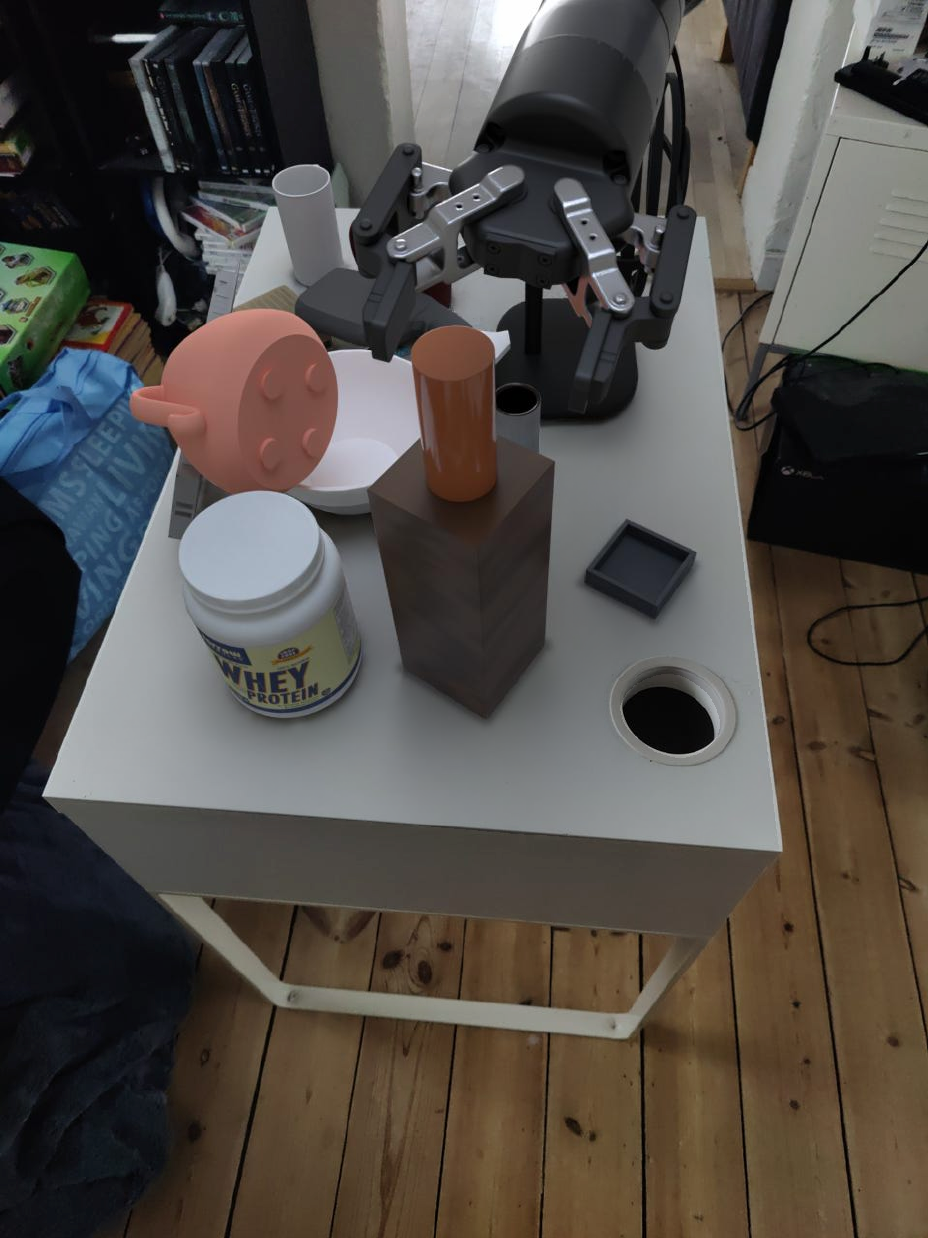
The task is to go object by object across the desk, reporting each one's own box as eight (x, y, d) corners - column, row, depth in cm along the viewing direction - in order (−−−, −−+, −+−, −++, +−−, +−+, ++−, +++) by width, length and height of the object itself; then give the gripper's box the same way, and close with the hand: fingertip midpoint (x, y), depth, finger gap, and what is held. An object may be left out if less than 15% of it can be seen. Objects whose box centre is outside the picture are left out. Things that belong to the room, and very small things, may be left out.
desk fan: (662, 450, 89) (734, 86, 60) (492, 450, 90) (482, 94, 61) (642, 289, 104) (693, -64, 75) (497, 291, 105) (491, -56, 76)
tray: (693, 565, 80) (697, 551, 79) (654, 619, 77) (657, 606, 76) (624, 531, 83) (626, 518, 81) (584, 582, 80) (585, 569, 78)
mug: (338, 291, 107) (320, 197, 97) (287, 287, 108) (264, 194, 98) (358, 244, 112) (343, 151, 102) (309, 240, 113) (290, 148, 103)
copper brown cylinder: (511, 467, 57) (511, 343, 49) (469, 513, 55) (462, 391, 47) (453, 439, 59) (443, 315, 50) (410, 482, 57) (393, 360, 48)
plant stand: (544, 644, 76) (555, 460, 57) (486, 719, 72) (477, 548, 53) (463, 598, 79) (447, 410, 60) (403, 668, 76) (366, 489, 57)
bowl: (421, 393, 95) (414, 331, 88) (473, 520, 84) (469, 460, 78) (248, 435, 93) (227, 374, 86) (279, 570, 82) (258, 513, 75)
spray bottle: (344, 283, 102) (526, 341, 94) (287, 327, 96) (477, 393, 88) (341, 259, 100) (528, 316, 92) (282, 303, 94) (477, 368, 86)
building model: (220, 383, 98) (202, 379, 97) (241, 252, 84) (220, 246, 83) (187, 559, 84) (165, 555, 83) (206, 437, 70) (180, 431, 70)
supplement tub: (215, 723, 73) (145, 611, 59) (241, 606, 80) (184, 480, 66) (357, 725, 72) (320, 611, 58) (371, 606, 79) (341, 479, 65)
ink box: (292, 308, 105) (232, 338, 103) (284, 280, 102) (222, 310, 99) (336, 348, 100) (274, 380, 98) (330, 321, 97) (266, 353, 95)
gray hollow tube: (487, 466, 89) (485, 389, 80) (528, 455, 89) (530, 377, 81) (502, 497, 86) (501, 420, 78) (544, 485, 87) (548, 408, 78)
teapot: (371, 478, 83) (271, 448, 88) (385, 310, 77) (276, 288, 81) (206, 534, 65) (93, 493, 70) (205, 321, 59) (80, 291, 64)
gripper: (432, -2, 38) (298, 263, 32) (748, 64, 37) (668, 355, 31) (436, 148, 45) (326, 389, 39) (702, 208, 44) (630, 469, 38)
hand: (477, 374), depth 35 cm, fingers open, 8 cm apart
